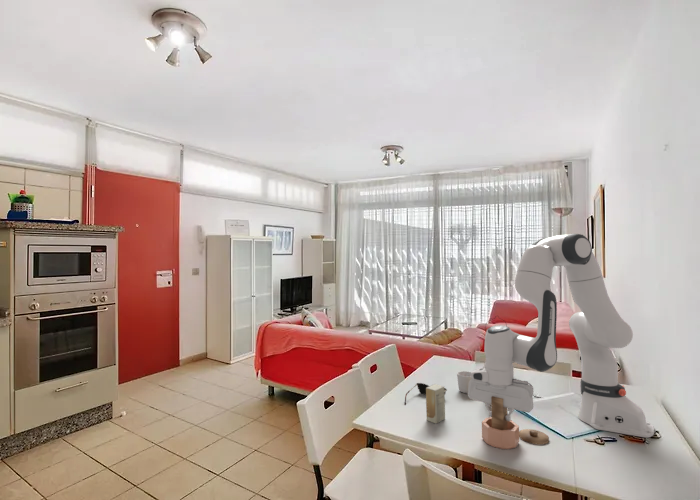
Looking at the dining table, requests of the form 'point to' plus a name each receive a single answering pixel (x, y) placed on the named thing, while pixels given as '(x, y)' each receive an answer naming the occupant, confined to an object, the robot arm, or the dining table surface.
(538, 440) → the jar lid
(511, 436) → the jar
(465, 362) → the dining table surface
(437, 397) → the skincare box
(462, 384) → the cup
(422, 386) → the sunglasses
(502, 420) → the brown wooden block
